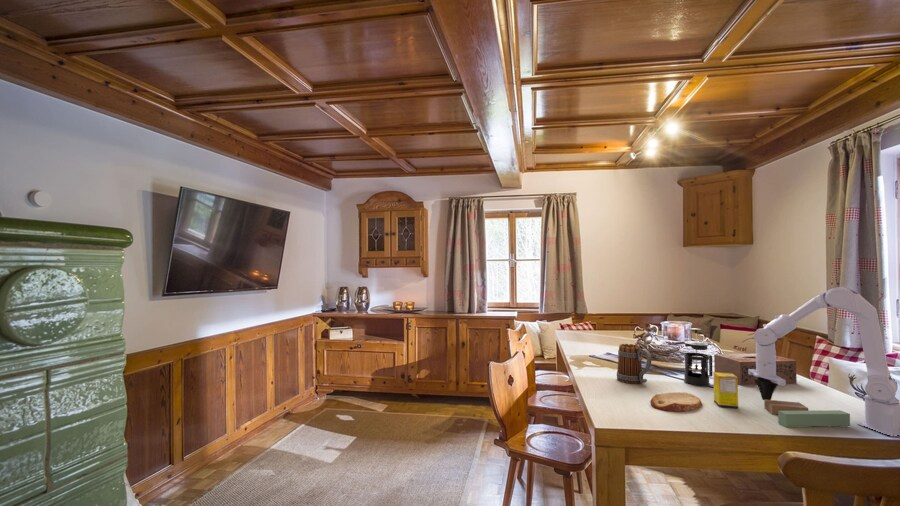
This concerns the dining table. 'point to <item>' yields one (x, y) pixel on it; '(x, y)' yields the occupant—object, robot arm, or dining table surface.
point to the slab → (783, 406)
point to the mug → (632, 364)
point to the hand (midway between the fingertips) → (766, 400)
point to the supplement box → (725, 390)
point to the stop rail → (813, 418)
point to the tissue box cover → (753, 367)
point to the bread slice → (676, 402)
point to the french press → (691, 377)
